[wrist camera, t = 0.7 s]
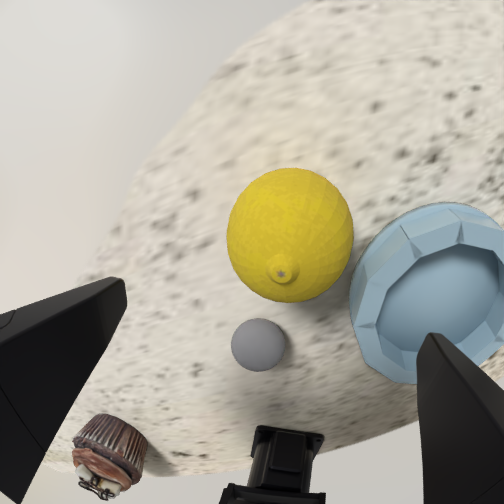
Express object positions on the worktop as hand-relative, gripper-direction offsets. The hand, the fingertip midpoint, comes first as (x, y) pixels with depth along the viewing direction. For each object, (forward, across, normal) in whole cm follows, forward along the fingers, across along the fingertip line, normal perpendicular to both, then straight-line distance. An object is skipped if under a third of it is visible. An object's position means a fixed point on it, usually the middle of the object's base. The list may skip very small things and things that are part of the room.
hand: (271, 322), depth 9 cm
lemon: (+11, 0, 0) cm, 11 cm away
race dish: (+10, -10, +4) cm, 15 cm away
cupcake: (+11, +17, +32) cm, 38 cm away
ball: (+10, +1, +9) cm, 14 cm away
